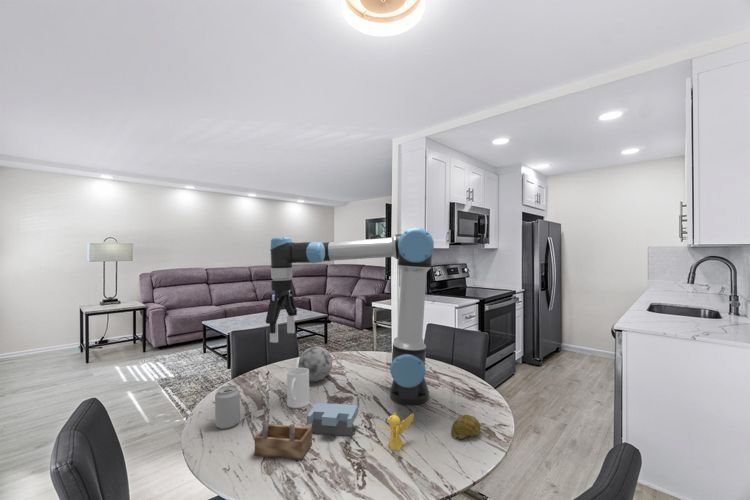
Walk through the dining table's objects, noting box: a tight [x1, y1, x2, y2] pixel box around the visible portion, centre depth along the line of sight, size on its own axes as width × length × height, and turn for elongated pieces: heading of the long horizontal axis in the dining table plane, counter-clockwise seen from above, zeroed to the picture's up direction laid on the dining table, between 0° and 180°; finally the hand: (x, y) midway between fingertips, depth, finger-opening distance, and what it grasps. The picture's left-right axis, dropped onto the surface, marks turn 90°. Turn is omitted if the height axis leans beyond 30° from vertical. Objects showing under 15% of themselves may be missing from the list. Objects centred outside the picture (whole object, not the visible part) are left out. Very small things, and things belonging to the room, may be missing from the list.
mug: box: [286, 367, 311, 409], centre depth 126 cm, size 12×8×12 cm
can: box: [214, 384, 241, 430], centre depth 112 cm, size 8×8×12 cm
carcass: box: [254, 421, 313, 461], centre depth 97 cm, size 14×8×9 cm, turn 80°
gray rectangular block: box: [312, 419, 354, 437], centre depth 107 cm, size 12×4×4 cm, turn 80°
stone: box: [297, 345, 333, 383], centre depth 150 cm, size 15×16×15 cm
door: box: [306, 402, 359, 427], centre depth 107 cm, size 14×9×2 cm, turn 80°
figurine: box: [374, 412, 415, 451], centre depth 100 cm, size 12×12×9 cm
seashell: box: [450, 414, 481, 440], centre depth 104 cm, size 10×7×8 cm
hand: (282, 337), depth 124 cm, fingers open, 13 cm apart
